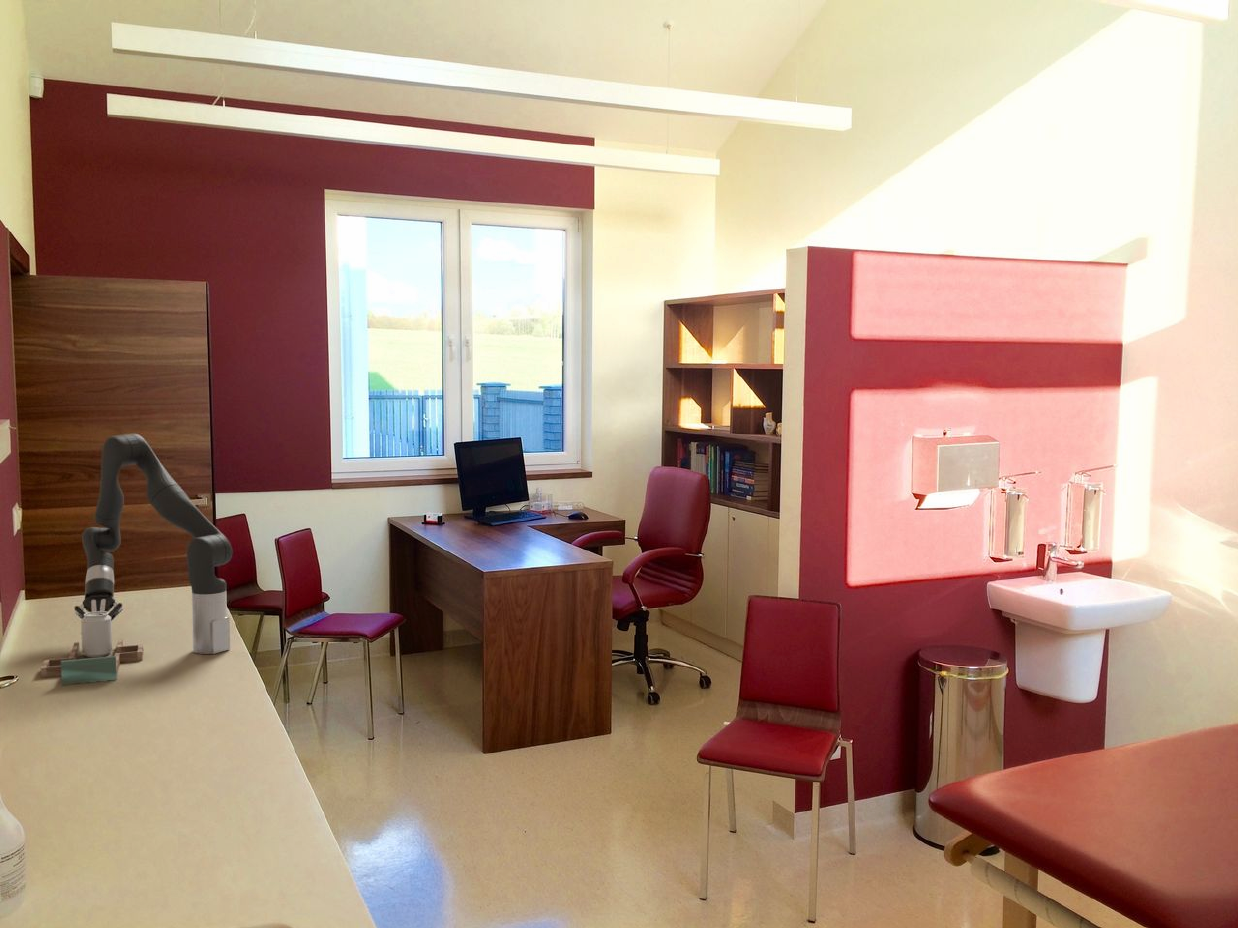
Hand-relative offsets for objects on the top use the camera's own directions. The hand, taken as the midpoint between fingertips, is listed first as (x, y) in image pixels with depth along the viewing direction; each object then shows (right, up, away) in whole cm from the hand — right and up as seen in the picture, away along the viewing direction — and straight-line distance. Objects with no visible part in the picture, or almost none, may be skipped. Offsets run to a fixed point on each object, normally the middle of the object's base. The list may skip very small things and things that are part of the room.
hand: (97, 634), depth 285 cm
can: (+2, -5, -4) cm, 7 cm away
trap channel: (+6, -6, -13) cm, 16 cm away
